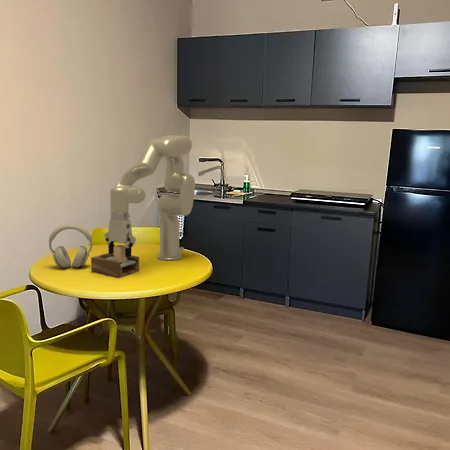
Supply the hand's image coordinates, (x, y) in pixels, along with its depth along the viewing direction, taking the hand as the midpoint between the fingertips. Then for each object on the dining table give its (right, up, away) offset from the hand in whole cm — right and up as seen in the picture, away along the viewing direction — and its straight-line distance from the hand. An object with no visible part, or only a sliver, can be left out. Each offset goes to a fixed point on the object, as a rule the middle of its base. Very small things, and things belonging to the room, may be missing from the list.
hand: (119, 254), depth 199 cm
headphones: (-24, -6, +8) cm, 26 cm away
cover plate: (-2, -4, +2) cm, 5 cm away
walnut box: (-3, -8, +3) cm, 9 cm away
